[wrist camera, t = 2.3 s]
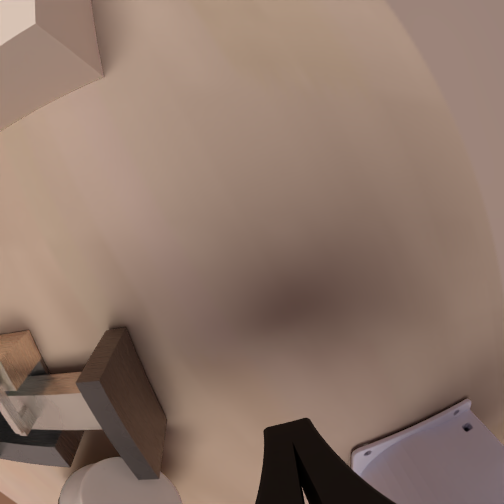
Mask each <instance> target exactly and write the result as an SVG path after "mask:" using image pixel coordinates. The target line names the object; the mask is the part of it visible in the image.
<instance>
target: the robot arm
mask: <svg viewBox="0 0 504 504" xmlns="http://www.w3.org/2000/svg"><path fill="white" fill-rule="evenodd" d="M470 407H471V401H470V400H469V399H465V400H463V401H461V402H460V403H458V404H456V405H454V406H452V407H450V408H449V409H447V410H445V411H443V412H441V413H439V414H437V415H435V416H433V417H431V418H429V419H427V420H425V421H423V422H420V423H418V424H416V425H414V426H412V427H410V428H407V429H405V430H403V431H400V432H398V433H396V434H393V435H391V436H388V437H386V438H383V439H381V440H378V441H376V442H373V443H371V444H368V445H365V446H362V447H360V448H357V449H355V450H354V451H353V452H352V455H351V468H350V467H349V466H348V465H347V464H346V463H345V462H344V461H343V460H342V459H341V458H340V457H339V456H338V455H337V454H336V453H335V452H334V451H333V450H332V448H331V447H330V446H329V445H328V444H327V443H326V441H325V440H324V439H323V438H322V436H321V435H320V434H319V433H318V431H317V430H316V428H315V427H314V425H313V424H312V422H311V420H310V419H308V418H303V419H299V420H295V421H292V422H288V423H284V424H280V425H275V426H271V427H267V428H266V429H265V430H264V458H263V467H262V474H261V480H260V486H259V490H258V495H257V499H256V503H255V504H305V502H304V496H303V491H302V488H303V490H304V493H305V495H306V498H307V500H308V502H309V504H504V445H503V444H502V443H501V442H500V441H499V440H498V439H497V438H496V437H495V436H494V435H493V433H492V432H491V431H490V430H489V429H488V428H487V427H486V426H485V425H484V424H483V423H482V422H481V421H480V420H479V419H478V418H477V416H476V415H475V414H474V413H473V412H472V411H471V410H470Z"/></svg>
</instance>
